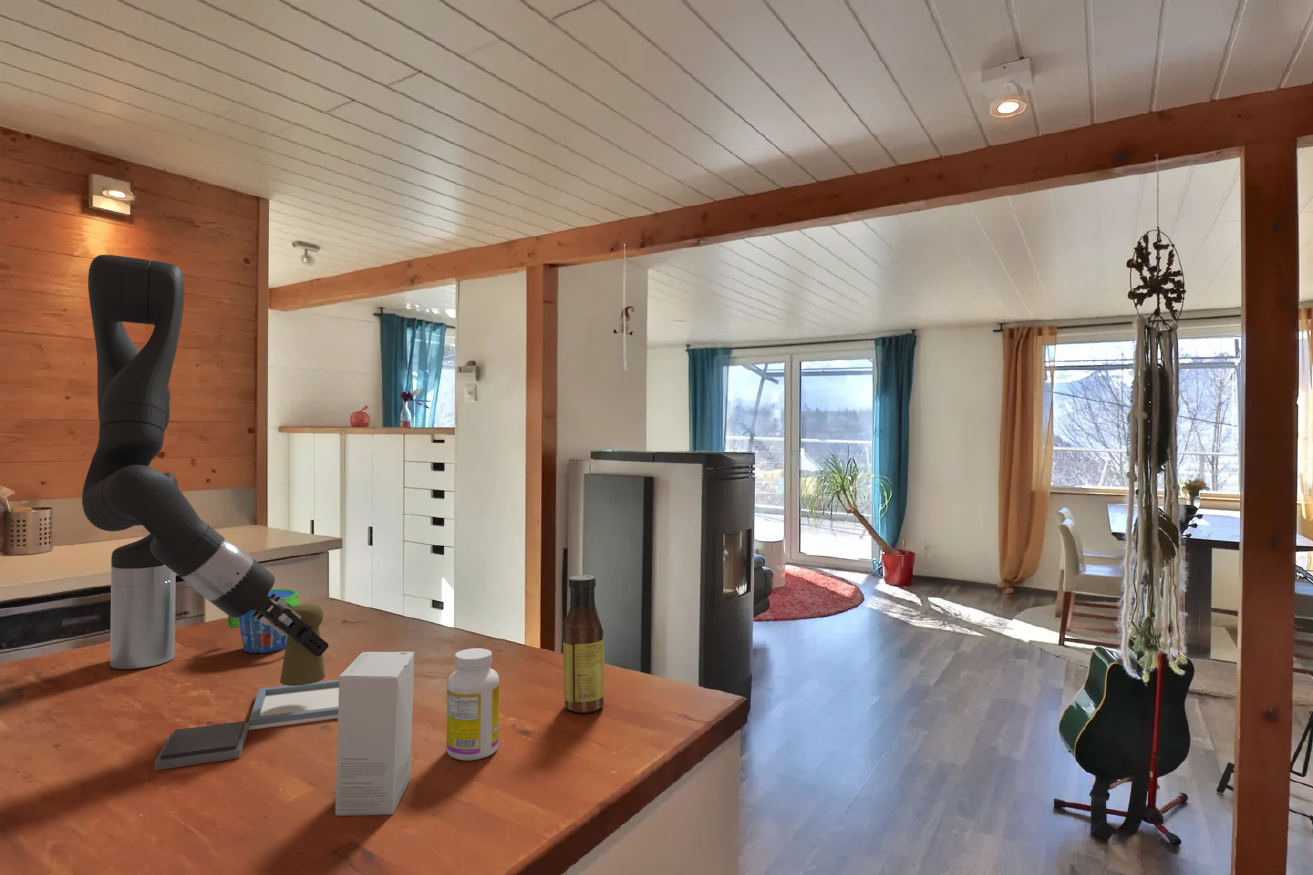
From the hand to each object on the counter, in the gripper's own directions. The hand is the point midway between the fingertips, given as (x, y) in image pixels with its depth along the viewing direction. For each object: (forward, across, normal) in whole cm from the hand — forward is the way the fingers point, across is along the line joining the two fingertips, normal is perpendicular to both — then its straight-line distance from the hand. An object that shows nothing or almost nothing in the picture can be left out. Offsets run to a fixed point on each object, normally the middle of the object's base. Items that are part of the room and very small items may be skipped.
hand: (317, 646), depth 108 cm
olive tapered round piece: (+2, 0, +5) cm, 5 cm away
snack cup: (+8, +34, +5) cm, 35 cm away
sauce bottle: (+27, -27, -15) cm, 41 cm away
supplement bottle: (+13, -30, 0) cm, 32 cm away
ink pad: (-5, -6, +17) cm, 19 cm away
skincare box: (+3, -33, +10) cm, 35 cm away
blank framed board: (+5, 0, +7) cm, 9 cm away
